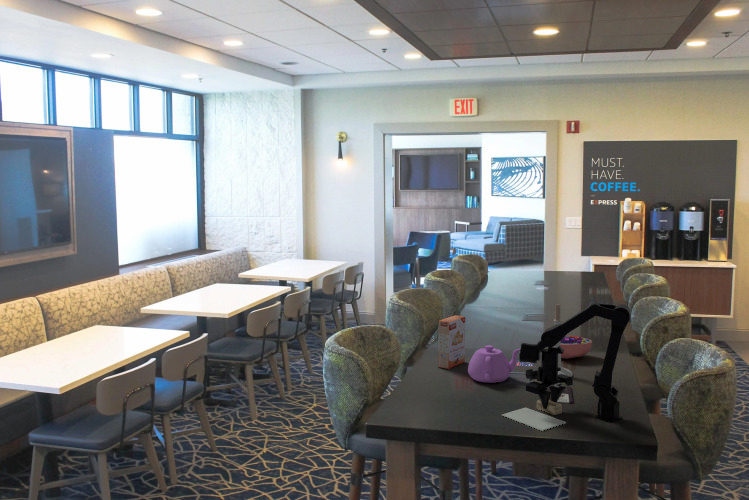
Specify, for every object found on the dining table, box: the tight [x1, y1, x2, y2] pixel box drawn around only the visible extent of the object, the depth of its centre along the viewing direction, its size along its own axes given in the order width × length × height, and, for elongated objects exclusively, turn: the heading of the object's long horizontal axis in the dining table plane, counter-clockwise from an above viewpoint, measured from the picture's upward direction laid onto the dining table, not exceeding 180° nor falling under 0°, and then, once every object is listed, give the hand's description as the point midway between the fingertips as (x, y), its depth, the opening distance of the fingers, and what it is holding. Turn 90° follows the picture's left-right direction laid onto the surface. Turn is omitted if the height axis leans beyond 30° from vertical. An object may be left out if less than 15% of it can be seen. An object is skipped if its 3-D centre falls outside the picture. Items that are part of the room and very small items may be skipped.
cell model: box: [560, 334, 593, 360], centre depth 310 cm, size 17×20×11 cm
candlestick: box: [552, 303, 573, 378], centre depth 285 cm, size 13×13×30 cm
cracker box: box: [437, 314, 466, 370], centre depth 301 cm, size 14×6×21 cm, turn 143°
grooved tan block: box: [536, 399, 563, 416], centre depth 243 cm, size 8×4×3 cm, turn 36°
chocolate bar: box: [548, 386, 574, 404], centre depth 260 cm, size 9×1×18 cm
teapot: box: [467, 344, 521, 384], centre depth 280 cm, size 22×22×14 cm
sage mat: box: [501, 407, 567, 432], centre depth 235 cm, size 18×12×1 cm, turn 36°
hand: (549, 407), depth 243 cm, fingers closed on grooved tan block, 4 cm apart
